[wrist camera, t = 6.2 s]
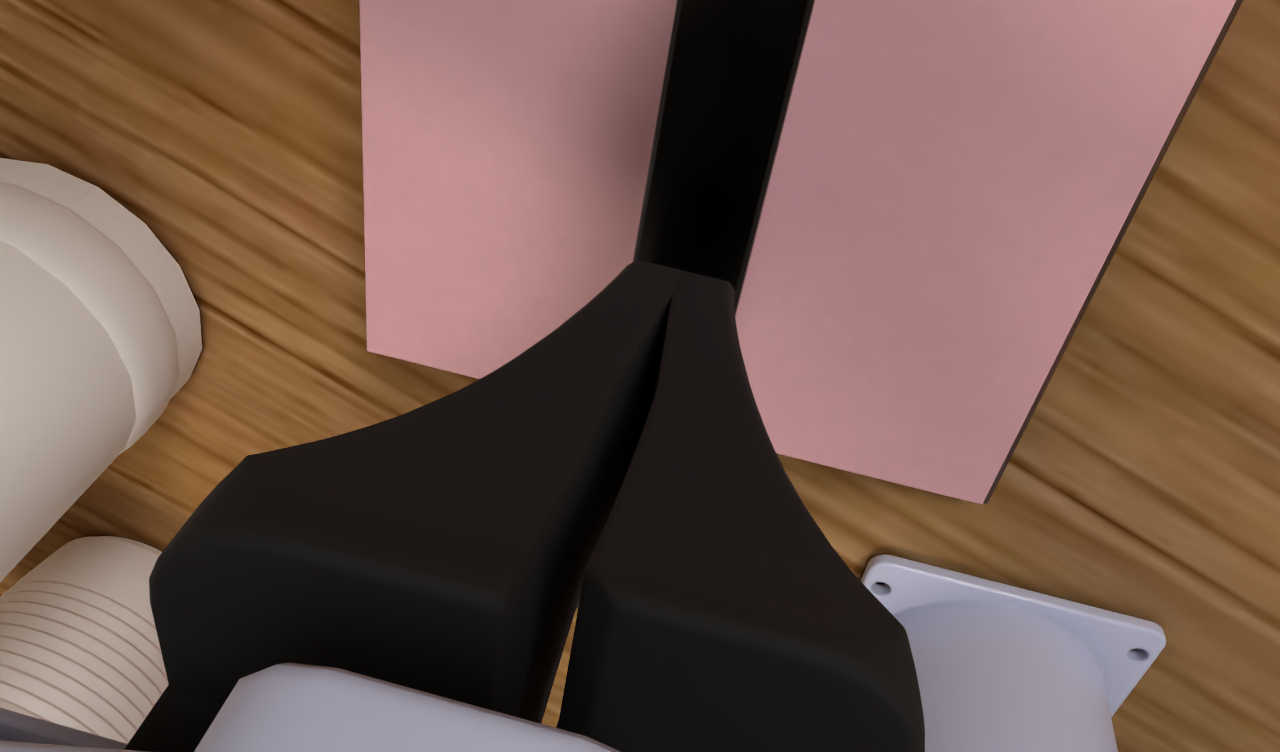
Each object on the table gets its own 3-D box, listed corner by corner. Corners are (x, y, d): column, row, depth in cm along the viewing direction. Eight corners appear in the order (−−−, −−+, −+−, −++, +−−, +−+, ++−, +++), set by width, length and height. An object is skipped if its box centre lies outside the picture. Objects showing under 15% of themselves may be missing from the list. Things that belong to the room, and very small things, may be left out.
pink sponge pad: (974, 417, 24) (982, 505, 21) (417, 281, 25) (365, 351, 22) (1266, -213, 16) (1329, -183, 14) (427, -379, 17) (349, -377, 14)
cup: (-28, 460, 34) (-347, 750, 25) (252, 519, 33) (17, 844, 24) (55, 649, 40) (-180, 936, 31) (294, 704, 39) (119, 1019, 30)
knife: (695, 467, 22) (661, 611, 19) (623, 449, 22) (576, 589, 19) (891, -314, 13) (888, -291, 10) (770, -337, 13) (730, -323, 10)
